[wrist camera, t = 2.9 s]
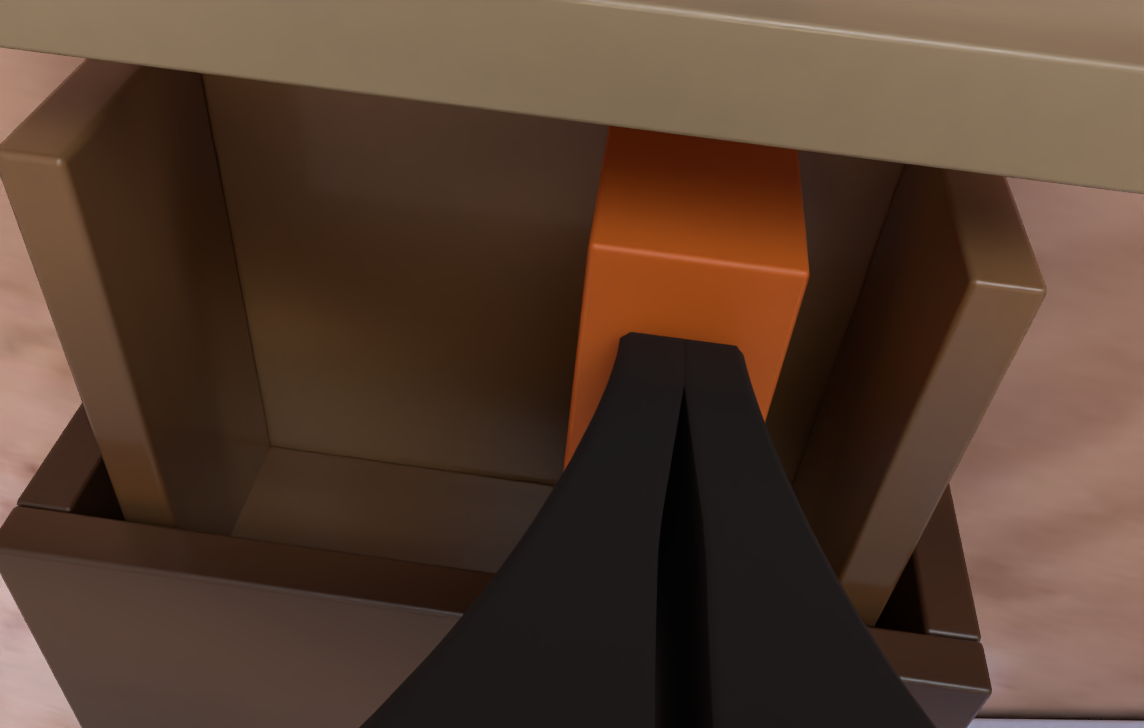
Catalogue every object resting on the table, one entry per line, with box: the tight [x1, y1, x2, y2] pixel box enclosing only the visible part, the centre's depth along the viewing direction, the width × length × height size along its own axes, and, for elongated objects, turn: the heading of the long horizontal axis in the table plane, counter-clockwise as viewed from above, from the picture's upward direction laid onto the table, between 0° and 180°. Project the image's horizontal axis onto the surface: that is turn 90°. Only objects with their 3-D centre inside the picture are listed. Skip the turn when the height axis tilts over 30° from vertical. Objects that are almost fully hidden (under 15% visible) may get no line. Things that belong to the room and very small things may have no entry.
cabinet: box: [0, 403, 992, 728], centre depth 20 cm, size 13×14×7 cm
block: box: [563, 126, 810, 472], centre depth 14 cm, size 6×2×3 cm, turn 176°
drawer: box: [0, 0, 1144, 627], centre depth 13 cm, size 16×12×5 cm
